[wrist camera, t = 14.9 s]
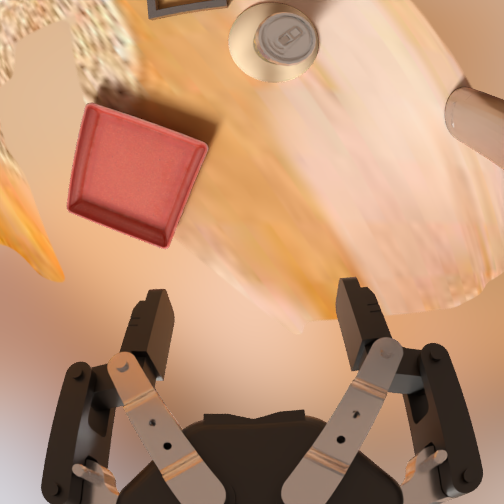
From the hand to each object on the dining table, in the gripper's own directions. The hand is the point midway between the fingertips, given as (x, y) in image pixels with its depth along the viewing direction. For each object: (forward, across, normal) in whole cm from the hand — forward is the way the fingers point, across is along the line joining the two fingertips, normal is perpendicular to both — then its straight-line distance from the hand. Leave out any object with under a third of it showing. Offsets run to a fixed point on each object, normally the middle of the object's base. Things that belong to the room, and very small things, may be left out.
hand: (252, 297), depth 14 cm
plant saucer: (+31, +17, +4) cm, 35 cm away
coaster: (+30, -4, -12) cm, 33 cm away
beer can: (+30, -4, -12) cm, 32 cm away
